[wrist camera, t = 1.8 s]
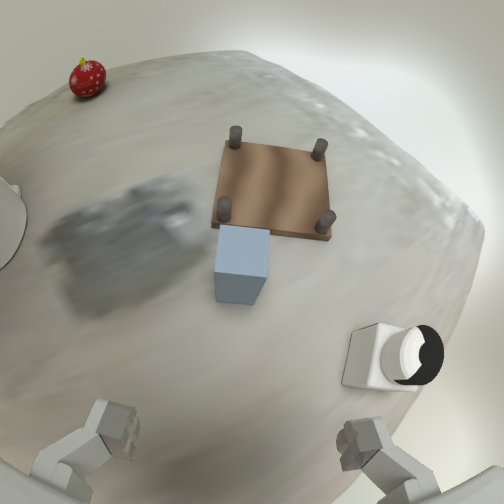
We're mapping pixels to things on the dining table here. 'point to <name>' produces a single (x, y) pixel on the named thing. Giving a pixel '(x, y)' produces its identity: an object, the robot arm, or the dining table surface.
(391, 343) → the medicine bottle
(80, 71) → the christmas ornament
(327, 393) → the dining table surface
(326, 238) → the peg board
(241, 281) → the blue block
